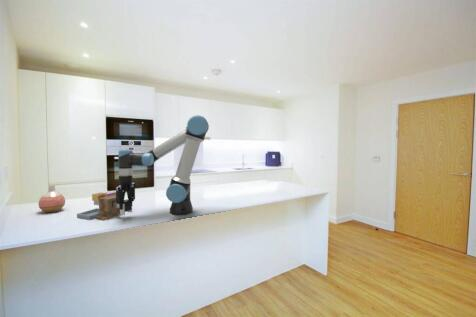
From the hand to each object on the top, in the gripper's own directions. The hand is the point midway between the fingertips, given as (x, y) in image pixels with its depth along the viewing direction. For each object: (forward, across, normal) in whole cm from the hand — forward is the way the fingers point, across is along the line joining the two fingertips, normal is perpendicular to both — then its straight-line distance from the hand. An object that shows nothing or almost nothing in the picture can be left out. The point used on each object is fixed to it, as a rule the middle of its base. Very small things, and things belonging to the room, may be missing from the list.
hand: (126, 213), depth 137 cm
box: (+4, -11, -26) cm, 28 cm away
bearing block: (+3, 0, -12) cm, 13 cm away
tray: (+3, +3, -22) cm, 23 cm away
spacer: (-6, 0, -21) cm, 22 cm away
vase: (+3, +5, -56) cm, 56 cm away
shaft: (-2, 0, -11) cm, 11 cm away
